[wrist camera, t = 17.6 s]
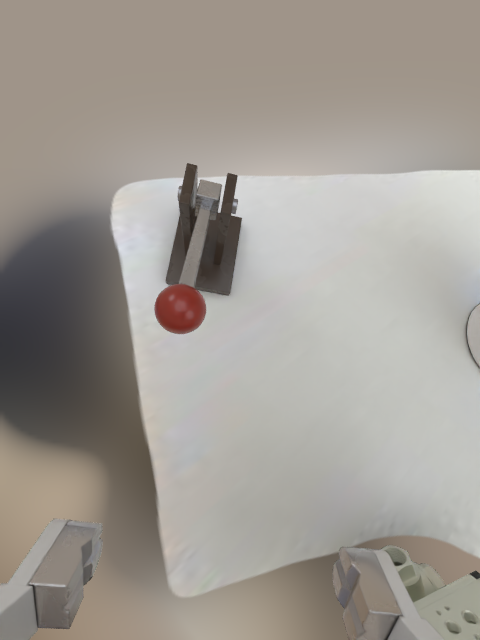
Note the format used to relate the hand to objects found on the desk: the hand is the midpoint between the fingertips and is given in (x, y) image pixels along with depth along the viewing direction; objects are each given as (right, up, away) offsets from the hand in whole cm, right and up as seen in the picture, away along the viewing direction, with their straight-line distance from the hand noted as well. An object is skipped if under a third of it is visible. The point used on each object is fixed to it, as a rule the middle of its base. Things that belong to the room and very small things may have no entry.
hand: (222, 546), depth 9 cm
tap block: (-5, +18, +29) cm, 34 cm away
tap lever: (-4, +13, +15) cm, 20 cm away
